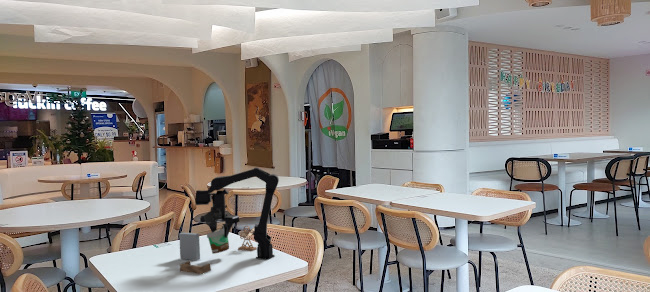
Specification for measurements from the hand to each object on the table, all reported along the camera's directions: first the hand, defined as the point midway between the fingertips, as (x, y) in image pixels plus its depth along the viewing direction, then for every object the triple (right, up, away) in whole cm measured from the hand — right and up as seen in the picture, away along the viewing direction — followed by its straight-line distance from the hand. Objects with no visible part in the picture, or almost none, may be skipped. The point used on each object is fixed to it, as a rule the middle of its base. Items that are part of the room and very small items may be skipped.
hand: (220, 237), depth 214 cm
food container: (+2, -6, +1) cm, 6 cm away
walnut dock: (-7, -11, -16) cm, 21 cm away
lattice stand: (+10, -10, +18) cm, 23 cm away
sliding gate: (-15, -11, +3) cm, 19 cm away
